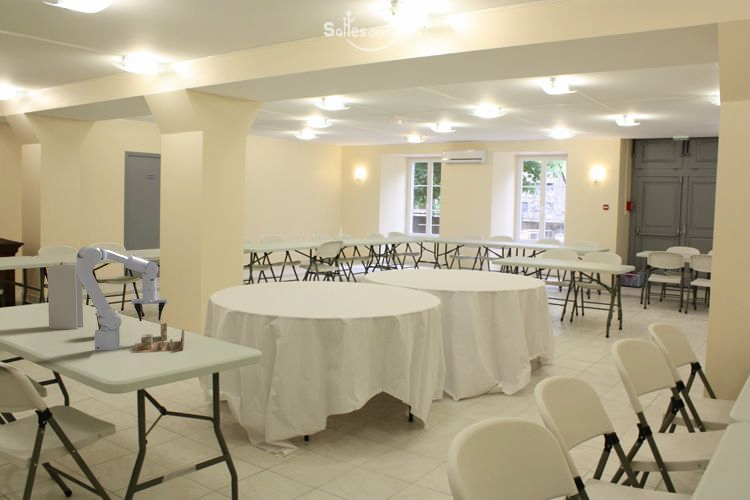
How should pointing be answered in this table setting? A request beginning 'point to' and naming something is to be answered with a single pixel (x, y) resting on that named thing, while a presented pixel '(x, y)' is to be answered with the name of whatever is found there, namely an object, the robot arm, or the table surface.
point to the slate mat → (160, 336)
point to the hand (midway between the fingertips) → (150, 320)
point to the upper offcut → (147, 338)
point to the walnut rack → (161, 346)
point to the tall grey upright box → (64, 297)
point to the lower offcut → (146, 345)
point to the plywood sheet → (163, 329)
